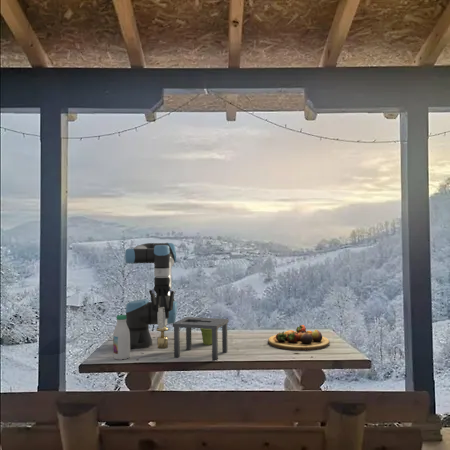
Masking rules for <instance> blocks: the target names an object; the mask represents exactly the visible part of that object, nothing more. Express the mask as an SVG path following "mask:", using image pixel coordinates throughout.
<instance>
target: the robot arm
mask: <svg viewBox="0 0 450 450" xmlns="http://www.w3.org/2000/svg"><path fill="white" fill-rule="evenodd" d="M175 245H176V244H174V243H172V242H161V243H160V242H156V243H155V242H153V243H152V242H150V243H149V242H147V243H142V244H138V245H136V246H135V247H132V248H126V249H125V252H124V255H125V256H124V257H125V258H124V260H125V263H126V264H129V265H130V264H131V265H132V264H133V265H134V264H135V265H136V264H153V265H154V266H153V269H154V270H153V271H154V272H153V273H154V274H153V276H154V278H153V279H154V280H153V281H154V282H153V283H154V287H153V288H152V289H150V290H148V292H149V295H150V301H149V299H146V298H143V299H142V298H141V299H135V300H132V301H128V302H127V303H126V305H125V315H126V317H127V318H126V324H127V326H128V328H129V332H130V349H141V348H142V349H143V348H148V347H151V346H152V345H153V339H152V336H151V333H150V330H149V329H150V328H149V325H150V326H151V325H152V326H153V325H157V326H159V317H158V308H160V307H164V308H165V311H164V326H166V327H167V325H173V323H175V322H177V321H176V320H177V315H178V301H177V300H176V301H175V298H174V296H175V294H176V290H175V289H172V287H173V286H172V283H173V281H172V279H173V278H172V273H173V272H172V267H173V266H174V264H175V263H176V262H177V250H176V246H175Z"/></svg>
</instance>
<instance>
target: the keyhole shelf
mask: <svg viewBox="0 0 450 450" xmlns="http://www.w3.org/2000/svg"><path fill="white" fill-rule="evenodd" d="M229 321H230V320H229V318H214V317H197V316H196V317H193V316H186V317H184V318H182V319H179V320H177V321H175V323H173V324H172V328H173V347H174V348H173V357H174V358H176V359H179V358H180V357H181V349H180V348H181V345H180V344H181V343H180V342H181V340H180V338H181V337H180V332H181V331H180V330H181V329H180V328H185V336H186V337H185V338H186V339H185V342H186V343H185V346H186V347H185V348H186V349H185V350H186V351H191V350H192V329H200V328H201V329H212V344H211V347H212V348H211V351H212V353H211V354H212V355H211V356H212V358H211V359H212V360H211V361H213V360H217V359H218V360H219V355H218V354H219V353H218V352H219V351H218V350H219V347H218V346H219V345H218V338H219V336H218V333H219V331H218V329H220V328H222V329H221V338H222V339H221V341H222V350H221V351H222V353H223V354H227V353H229V352H228V350H229V349H228V323H229ZM201 329H200V330H201ZM218 360H217V361H218Z"/></svg>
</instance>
